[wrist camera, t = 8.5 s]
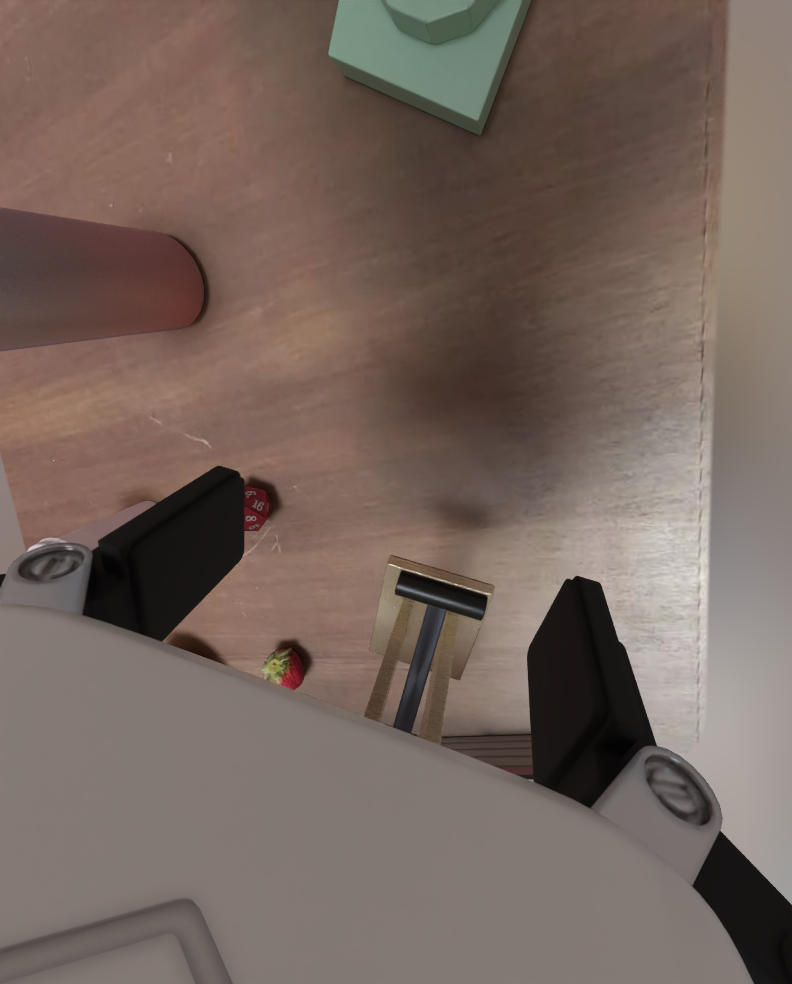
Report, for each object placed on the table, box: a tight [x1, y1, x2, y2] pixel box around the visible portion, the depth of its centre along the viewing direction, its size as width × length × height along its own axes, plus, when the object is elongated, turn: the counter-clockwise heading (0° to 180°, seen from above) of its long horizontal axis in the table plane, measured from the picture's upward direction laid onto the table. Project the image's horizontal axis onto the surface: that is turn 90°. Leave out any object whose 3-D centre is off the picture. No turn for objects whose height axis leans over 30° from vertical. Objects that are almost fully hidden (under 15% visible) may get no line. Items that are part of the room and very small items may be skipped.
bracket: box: [364, 556, 493, 745], centre depth 30 cm, size 11×9×15 cm
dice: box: [244, 486, 274, 531], centre depth 33 cm, size 4×4×4 cm
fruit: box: [262, 648, 304, 690], centre depth 42 cm, size 4×6×5 cm
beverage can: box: [0, 207, 204, 351], centre depth 22 cm, size 6×6×15 cm
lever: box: [385, 570, 488, 736], centre depth 24 cm, size 14×5×2 cm, turn 170°
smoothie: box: [27, 501, 157, 552], centre depth 33 cm, size 6×6×14 cm
